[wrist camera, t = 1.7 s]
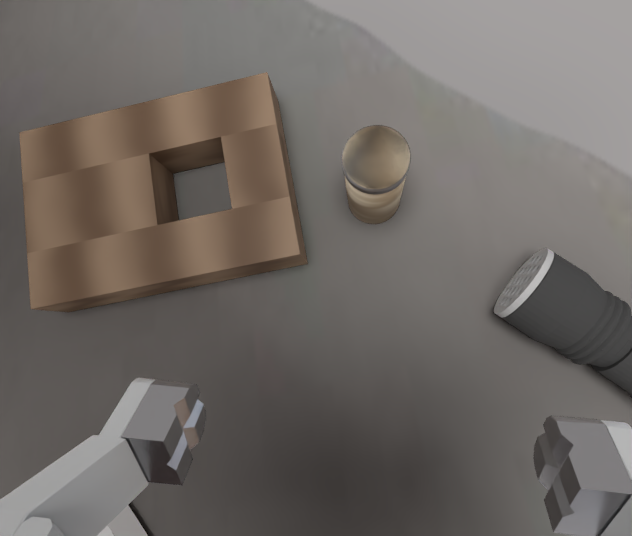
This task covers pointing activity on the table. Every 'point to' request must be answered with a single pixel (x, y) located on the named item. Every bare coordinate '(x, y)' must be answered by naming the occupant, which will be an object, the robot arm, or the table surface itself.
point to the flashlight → (570, 315)
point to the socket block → (157, 197)
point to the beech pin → (375, 172)
